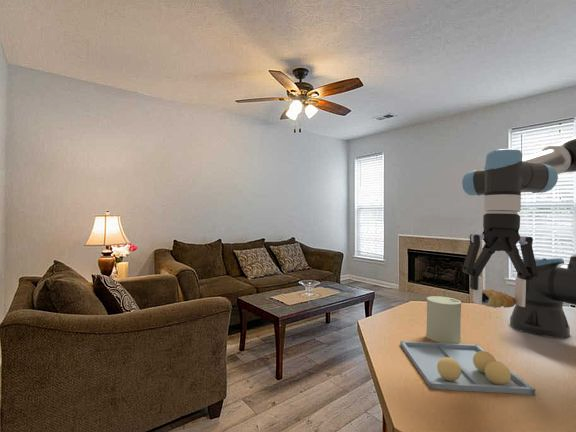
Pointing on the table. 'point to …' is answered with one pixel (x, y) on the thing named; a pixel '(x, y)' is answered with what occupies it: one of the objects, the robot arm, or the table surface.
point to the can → (443, 319)
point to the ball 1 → (482, 360)
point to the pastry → (497, 299)
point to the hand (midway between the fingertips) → (498, 304)
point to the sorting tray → (470, 378)
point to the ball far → (449, 369)
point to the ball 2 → (497, 373)
